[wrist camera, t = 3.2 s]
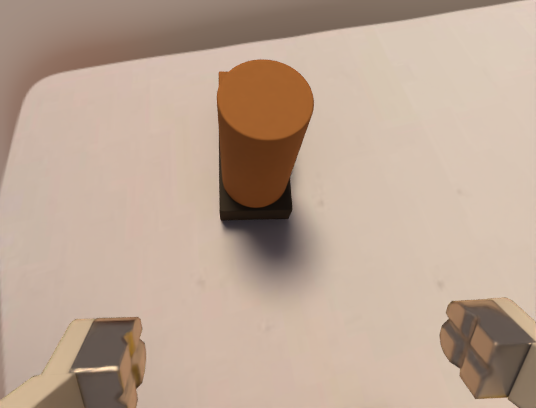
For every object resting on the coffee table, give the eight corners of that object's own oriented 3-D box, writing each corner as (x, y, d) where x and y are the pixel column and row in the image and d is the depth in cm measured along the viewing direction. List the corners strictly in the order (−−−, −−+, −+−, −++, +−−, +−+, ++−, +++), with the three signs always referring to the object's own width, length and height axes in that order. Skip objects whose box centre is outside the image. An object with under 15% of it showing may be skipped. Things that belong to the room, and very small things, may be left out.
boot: (220, 220, 26) (212, 144, 16) (219, 104, 29) (212, -20, 19) (288, 219, 26) (323, 144, 16) (279, 105, 30) (303, -16, 20)
